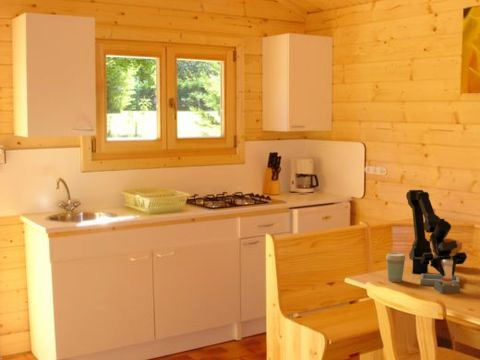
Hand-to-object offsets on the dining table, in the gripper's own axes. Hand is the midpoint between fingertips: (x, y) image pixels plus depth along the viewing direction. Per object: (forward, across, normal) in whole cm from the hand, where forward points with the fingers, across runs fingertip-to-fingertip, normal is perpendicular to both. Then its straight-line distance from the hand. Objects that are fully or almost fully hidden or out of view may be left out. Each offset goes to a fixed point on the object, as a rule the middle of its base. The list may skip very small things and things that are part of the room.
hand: (448, 275), depth 279 cm
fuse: (+4, 0, +6) cm, 7 cm away
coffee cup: (-9, -16, +19) cm, 27 cm away
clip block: (+4, 0, +6) cm, 7 cm away
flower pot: (-25, +17, +35) cm, 47 cm away
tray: (-5, +2, +14) cm, 15 cm away
